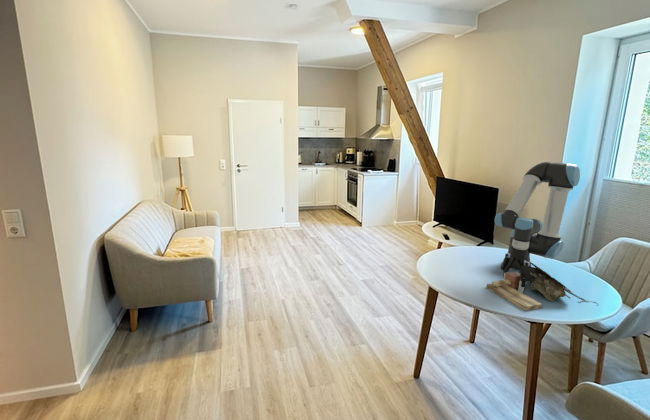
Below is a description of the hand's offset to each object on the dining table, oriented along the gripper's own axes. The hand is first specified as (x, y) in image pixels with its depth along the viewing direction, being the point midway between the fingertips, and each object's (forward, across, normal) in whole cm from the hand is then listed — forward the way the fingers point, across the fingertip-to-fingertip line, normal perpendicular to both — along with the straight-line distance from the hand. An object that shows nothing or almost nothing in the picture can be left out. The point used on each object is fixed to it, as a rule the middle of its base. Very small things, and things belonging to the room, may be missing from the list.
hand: (512, 287), depth 178 cm
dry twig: (+1, +13, +26) cm, 29 cm away
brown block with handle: (0, 0, -5) cm, 5 cm away
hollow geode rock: (+1, +6, +14) cm, 15 cm away
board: (0, +8, -8) cm, 12 cm away
